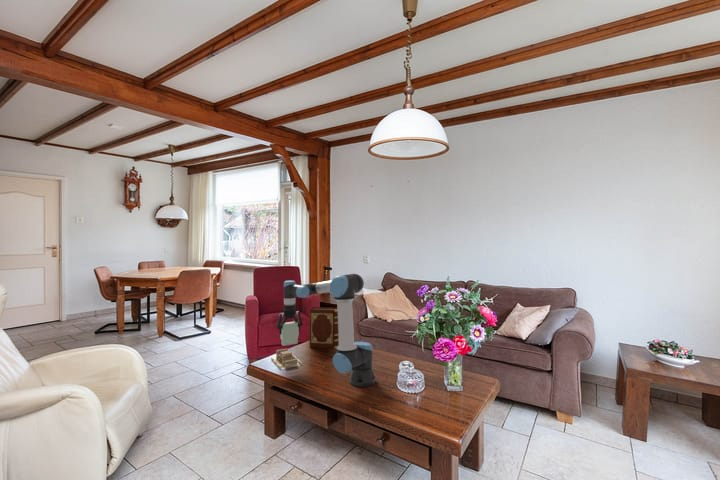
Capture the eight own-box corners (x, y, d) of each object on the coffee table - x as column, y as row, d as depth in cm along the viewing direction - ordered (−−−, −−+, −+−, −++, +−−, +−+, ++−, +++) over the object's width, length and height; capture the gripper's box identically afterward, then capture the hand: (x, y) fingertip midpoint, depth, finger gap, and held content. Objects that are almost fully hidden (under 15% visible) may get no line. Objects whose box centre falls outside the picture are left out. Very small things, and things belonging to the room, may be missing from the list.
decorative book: (339, 345, 268) (339, 307, 268) (338, 348, 260) (338, 309, 260) (312, 344, 271) (312, 306, 270) (309, 347, 263) (309, 309, 262)
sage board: (297, 343, 224) (297, 322, 224) (283, 345, 219) (282, 324, 219) (295, 342, 227) (295, 321, 227) (281, 344, 222) (281, 323, 222)
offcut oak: (292, 357, 229) (292, 352, 229) (282, 359, 225) (282, 354, 225) (289, 355, 233) (289, 350, 233) (280, 357, 229) (280, 352, 229)
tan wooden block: (292, 362, 229) (292, 357, 229) (282, 364, 225) (282, 359, 225) (290, 360, 233) (290, 355, 233) (280, 362, 229) (280, 357, 229)
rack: (271, 361, 234) (271, 351, 233) (291, 357, 241) (291, 347, 241) (280, 371, 216) (280, 360, 216) (302, 366, 224) (302, 356, 224)
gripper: (303, 301, 232) (303, 333, 232) (270, 304, 220) (270, 338, 220) (307, 303, 225) (307, 336, 226) (274, 307, 214) (274, 341, 214)
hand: (289, 337), depth 223 cm, fingers closed on sage board, 10 cm apart
